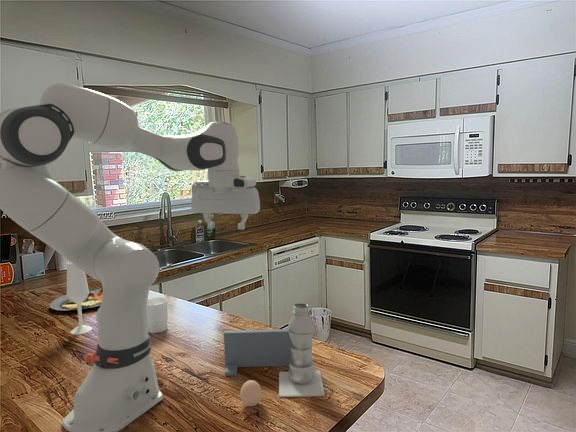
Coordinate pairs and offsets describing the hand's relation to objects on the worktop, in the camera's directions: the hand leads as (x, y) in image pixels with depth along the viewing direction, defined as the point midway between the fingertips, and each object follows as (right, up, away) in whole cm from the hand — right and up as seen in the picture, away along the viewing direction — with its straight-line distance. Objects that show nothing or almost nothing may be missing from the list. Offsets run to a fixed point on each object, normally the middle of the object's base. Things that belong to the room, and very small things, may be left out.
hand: (226, 228), depth 117 cm
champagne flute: (-53, -36, +22) cm, 67 cm away
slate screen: (+12, -38, -6) cm, 40 cm away
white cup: (-27, -35, +21) cm, 49 cm away
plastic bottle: (+21, -39, -13) cm, 46 cm away
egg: (+9, -41, -22) cm, 47 cm away
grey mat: (+21, -39, -14) cm, 47 cm away
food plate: (-65, -32, +49) cm, 87 cm away
